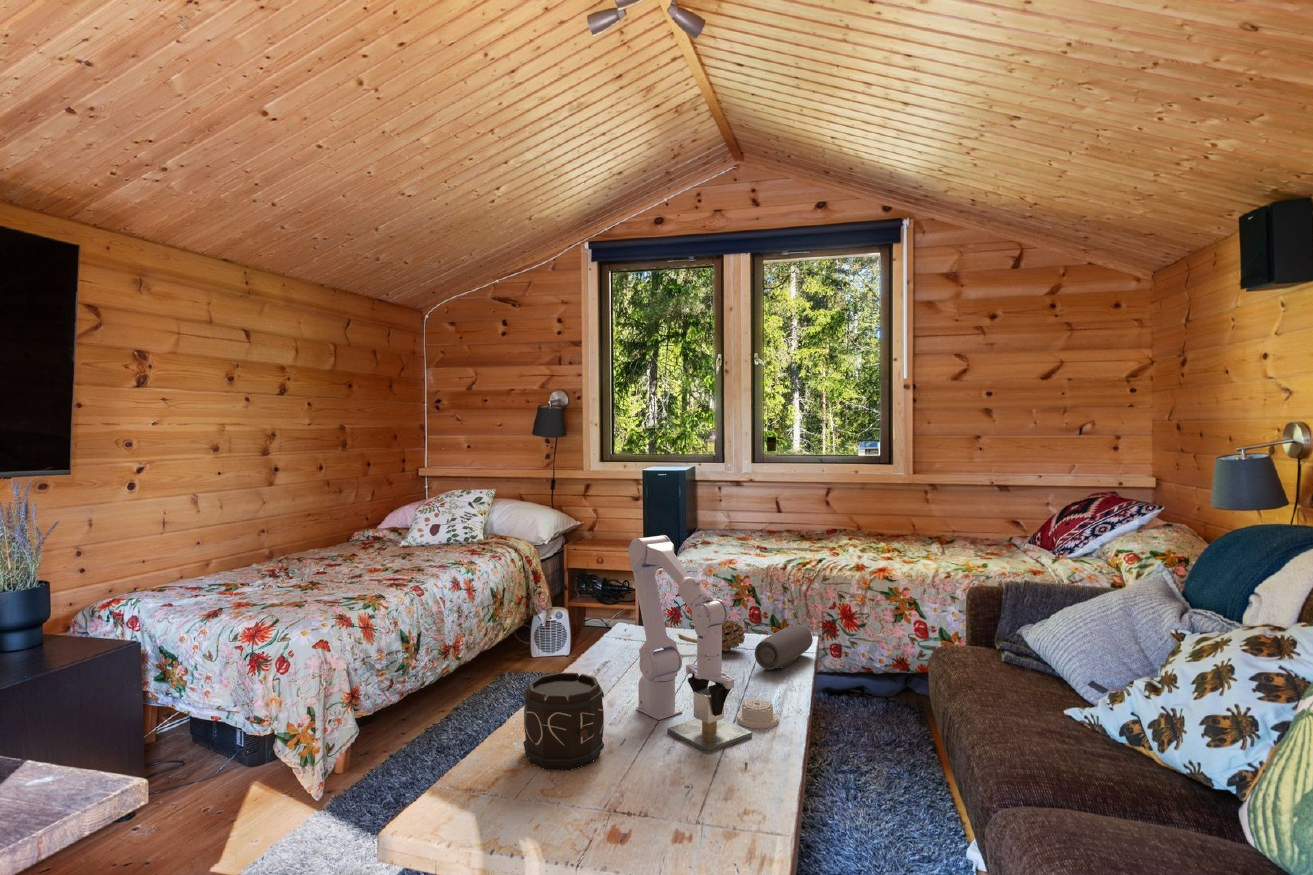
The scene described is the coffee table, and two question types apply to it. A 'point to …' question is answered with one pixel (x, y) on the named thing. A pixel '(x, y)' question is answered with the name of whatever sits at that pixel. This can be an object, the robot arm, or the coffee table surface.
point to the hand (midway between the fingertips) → (709, 710)
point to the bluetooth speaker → (783, 647)
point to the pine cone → (726, 635)
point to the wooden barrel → (563, 721)
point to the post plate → (709, 734)
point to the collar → (705, 706)
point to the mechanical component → (757, 714)
